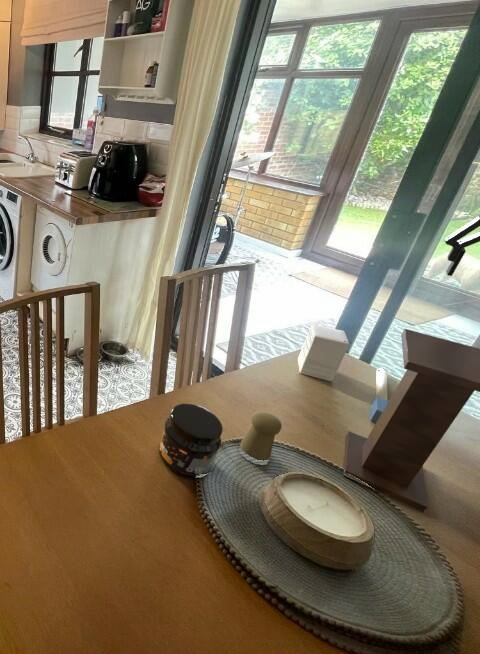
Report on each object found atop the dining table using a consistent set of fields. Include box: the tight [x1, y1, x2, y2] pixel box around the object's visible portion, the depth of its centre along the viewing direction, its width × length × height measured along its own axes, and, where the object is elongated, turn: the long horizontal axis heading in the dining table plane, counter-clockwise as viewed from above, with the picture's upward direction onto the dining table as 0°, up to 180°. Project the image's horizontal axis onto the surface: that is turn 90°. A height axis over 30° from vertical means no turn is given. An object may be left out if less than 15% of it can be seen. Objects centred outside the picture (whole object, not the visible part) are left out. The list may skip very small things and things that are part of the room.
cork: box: [239, 410, 282, 461], centre depth 88 cm, size 6×6×11 cm
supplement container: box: [158, 403, 224, 480], centre depth 87 cm, size 10×10×12 cm
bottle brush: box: [369, 368, 389, 424], centre depth 105 cm, size 4×25×4 cm, turn 138°
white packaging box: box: [297, 323, 350, 383], centre depth 113 cm, size 7×7×13 cm
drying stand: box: [342, 328, 480, 513], centre depth 80 cm, size 12×14×30 cm
